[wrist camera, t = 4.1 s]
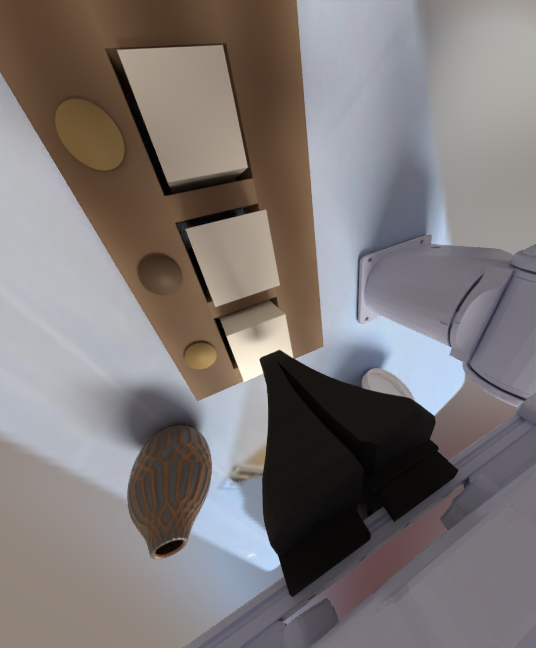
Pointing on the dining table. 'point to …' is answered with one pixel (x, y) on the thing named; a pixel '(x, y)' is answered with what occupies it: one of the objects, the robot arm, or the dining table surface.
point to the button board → (137, 166)
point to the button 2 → (256, 335)
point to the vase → (169, 488)
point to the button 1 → (188, 113)
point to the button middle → (235, 256)
